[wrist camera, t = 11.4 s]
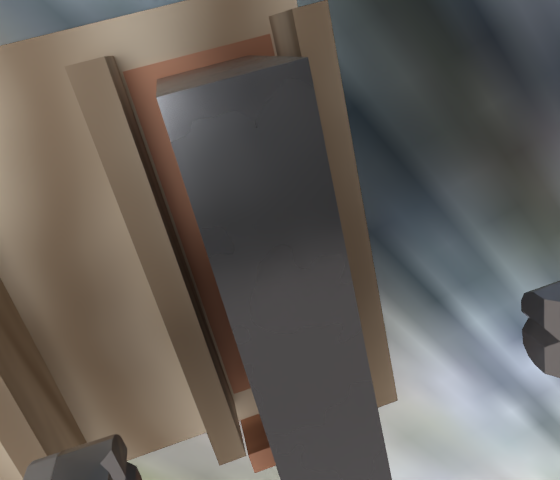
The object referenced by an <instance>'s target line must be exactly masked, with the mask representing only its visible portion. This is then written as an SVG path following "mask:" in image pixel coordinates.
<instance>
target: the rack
mask: <svg viewBox="0 0 560 480" xmlns="http://www.w3.org/2000/svg"><path fill="white" fill-rule="evenodd" d="M247 55H256V56H292V57H308V60H309V65H310V70H311V75H312V80H313V85H314V90H315V95H316V100H317V105H318V110H319V115H320V120H321V125H322V130H323V135H324V140H325V145H326V150H327V155H328V160H329V165H330V170H331V176H332V181H333V186H334V191H335V196H336V201H337V206H338V211H339V216H340V221H341V226H342V231H343V236H344V241H345V246H346V251H347V256H348V261H349V266H350V271H351V276H352V281H353V286H354V291H355V297H356V302H357V307H358V312H359V317H360V322H361V327H362V332H363V337H364V342H365V347H366V352H367V357H368V362H369V367H370V372H371V377H372V382H373V387H374V392H375V397H376V402H377V407H381V406H384V405H386V404H389V403H392V402H395V401H397V394H396V388H395V382H394V377H393V371H392V365H391V360H390V354H389V348H388V343H387V337H386V331H385V325H384V320H383V314H382V308H381V303H380V297H379V291H378V285H377V280H376V274H375V268H374V263H373V257H372V251H371V246H370V240H369V234H368V228H367V223H366V217H365V211H364V206H363V200H362V194H361V188H360V183H359V177H358V171H357V166H356V160H355V154H354V149H353V143H352V137H351V131H350V126H349V120H348V114H347V109H346V103H345V97H344V91H343V86H342V80H341V74H340V69H339V63H338V57H337V52H336V46H335V40H334V34H333V29H332V23H331V17H330V12H329V6H328V0H325V1H321V2H317V3H313V4H309V5H305V6H301V7H298V5H297V0H186V1H182V2H178V3H174V4H169V5H165V6H161V7H157V8H153V9H149V10H145V11H141V12H137V13H133V14H129V15H124V16H120V17H116V18H112V19H108V20H104V21H100V22H96V23H92V24H88V25H84V26H79V27H75V28H71V29H67V30H63V31H59V32H55V33H51V34H47V35H43V36H39V37H34V38H30V39H26V40H22V41H18V42H14V43H10V44H6V45H2V46H0V480H23V478H24V475H25V472H26V469H27V467H28V466H29V464H30V463H31V462H32V461H34V460H37V459H40V458H43V457H46V456H49V455H52V454H55V453H59V452H61V451H63V450H66V449H69V448H73V447H76V446H79V445H82V444H85V443H88V442H91V441H94V440H98V439H101V438H104V437H107V436H110V435H113V434H118V435H120V436H121V438H122V439H123V441H124V443H125V445H126V447H127V461H128V460H131V459H133V458H136V457H139V456H142V455H145V454H148V453H150V452H153V451H156V450H159V449H162V448H164V447H167V446H170V445H173V444H176V443H178V442H181V441H184V440H187V439H190V438H192V437H195V436H198V435H201V434H204V433H206V432H207V434H208V437H209V439H210V442H211V445H212V447H213V450H214V452H215V455H216V457H217V460H218V463H219V465H223V464H225V463H228V462H231V461H233V460H236V459H239V458H242V457H244V456H246V453H245V448H244V444H243V439H242V435H241V430H240V426H239V421H240V420H241V424H242V429H243V433H244V437H245V442H246V446H247V451H248V455H249V458H250V461H251V464H252V467H253V469H254V472H255V473H257V472H259V471H262V470H265V469H267V468H270V467H273V466H275V465H276V464H275V461H274V458H273V454H272V451H271V448H270V445H269V442H268V439H267V436H266V433H265V430H264V427H263V424H262V421H261V418H260V415H259V412H258V408H257V405H256V402H255V399H254V396H253V393H252V390H251V387H250V384H249V381H248V378H247V375H246V372H245V369H244V366H243V362H242V359H241V356H240V353H239V350H238V347H237V344H236V341H235V338H234V335H233V332H232V329H231V326H230V323H229V320H228V316H227V313H226V310H225V307H224V304H223V301H222V298H221V295H220V292H219V289H218V286H217V283H216V280H215V277H214V273H213V270H212V267H211V264H210V261H209V258H208V255H207V252H206V249H205V246H204V243H203V240H202V237H201V234H200V231H199V227H198V224H197V221H196V218H195V215H194V212H193V209H192V206H191V203H190V200H189V197H188V194H187V191H186V188H185V185H184V181H183V178H182V175H181V172H180V169H179V166H178V163H177V160H176V157H175V154H174V151H173V148H172V145H171V142H170V139H169V135H168V132H167V129H166V126H165V123H164V120H163V117H162V114H161V111H160V108H159V105H158V102H157V99H156V89H157V79H159V78H163V77H167V76H171V75H175V74H178V73H182V72H186V71H190V70H194V69H197V68H201V67H205V66H209V65H213V64H216V63H220V62H224V61H228V60H232V59H235V58H239V57H243V56H247Z"/></svg>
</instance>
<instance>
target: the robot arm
mask: <svg viewBox="0 0 560 480" xmlns="http://www.w3.org/2000/svg"><path fill="white" fill-rule="evenodd" d="M521 311H522V312H523V313H524V314H525V315H526V316H527V317H528V320H527V322H526V323H525V325H524V327H523V329H522V335H523V344H524V346H525V349H526V351H527V353H528V356H529V357H530V359H531V360H532V361H533V363H534V364H535V365H536V366H537V367H538V368H539V369H540V370H541V371H543V372H544V373H545V374H548V375H552V376H555V377H558V378H560V281H557V282H554V283H552V284H549V285H546V286H543V287H540V288H537V289H535V290H532V291H529V292H526V293H524V295H523V298H522V300H521ZM23 480H142V478H141V475H140V473H139V471H138V469H137V467H136V466H135V465H132V464H130V463H128V462H127V447H126V445H125V443H124V441H123V439H122V438H121V436H120V435H118V434H113V435H110V436H107V437H104V438H101V439H98V440H94V441H91V442H88V443H85V444H82V445H79V446H76V447H73V448H69V449H66V450H63V451H61V452H59V453H55V454H52V455H49V456H46V457H43V458H40V459H37V460H34V461H32V462H31V463H30V464H29V466H28V467H27V469H26V472H25V475H24V478H23Z"/></svg>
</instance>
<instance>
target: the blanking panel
mask: <svg viewBox="0 0 560 480" xmlns="http://www.w3.org/2000/svg"><path fill="white" fill-rule="evenodd" d="M156 99H157V102H158V105H159V108H160V111H161V114H162V117H163V120H164V123H165V126H166V129H167V132H168V135H169V139H170V142H171V145H172V148H173V151H174V154H175V157H176V160H177V163H178V166H179V169H180V172H181V175H182V178H183V181H184V185H185V188H186V191H187V194H188V197H189V200H190V203H191V206H192V209H193V212H194V215H195V218H196V221H197V224H198V227H199V231H200V234H201V237H202V240H203V243H204V246H205V249H206V252H207V255H208V258H209V261H210V264H211V267H212V270H213V273H214V277H215V280H216V283H217V286H218V289H219V292H220V295H221V298H222V301H223V304H224V307H225V310H226V313H227V316H228V320H229V323H230V326H231V329H232V332H233V335H234V338H235V341H236V344H237V347H238V350H239V353H240V356H241V359H242V362H243V366H244V369H245V372H246V375H247V378H248V381H249V384H250V387H251V390H252V393H253V396H254V399H255V402H256V405H257V408H258V412H259V415H260V418H261V421H262V424H263V427H264V430H265V433H266V436H267V439H268V442H269V445H270V448H271V451H272V454H273V458H274V461H275V464H276V467H277V470H278V473H279V476H280V479H281V480H392V478H391V473H390V468H389V463H388V458H387V453H386V448H385V443H384V438H383V433H382V428H381V423H380V418H379V412H378V407H377V402H376V397H375V392H374V387H373V382H372V377H371V372H370V367H369V362H368V357H367V352H366V347H365V342H364V337H363V332H362V327H361V322H360V317H359V312H358V307H357V302H356V297H355V291H354V286H353V281H352V276H351V271H350V266H349V261H348V256H347V251H346V246H345V241H344V236H343V231H342V226H341V221H340V216H339V211H338V206H337V201H336V196H335V191H334V186H333V181H332V176H331V170H330V165H329V160H328V155H327V150H326V145H325V140H324V135H323V130H322V125H321V120H320V115H319V110H318V105H317V100H316V95H315V90H314V85H313V80H312V75H311V70H310V65H309V60H308V57H292V56H256V55H247V56H243V57H239V58H235V59H232V60H228V61H224V62H220V63H216V64H213V65H209V66H205V67H201V68H197V69H194V70H190V71H186V72H182V73H178V74H175V75H171V76H167V77H163V78H159V79H157V89H156Z"/></svg>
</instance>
